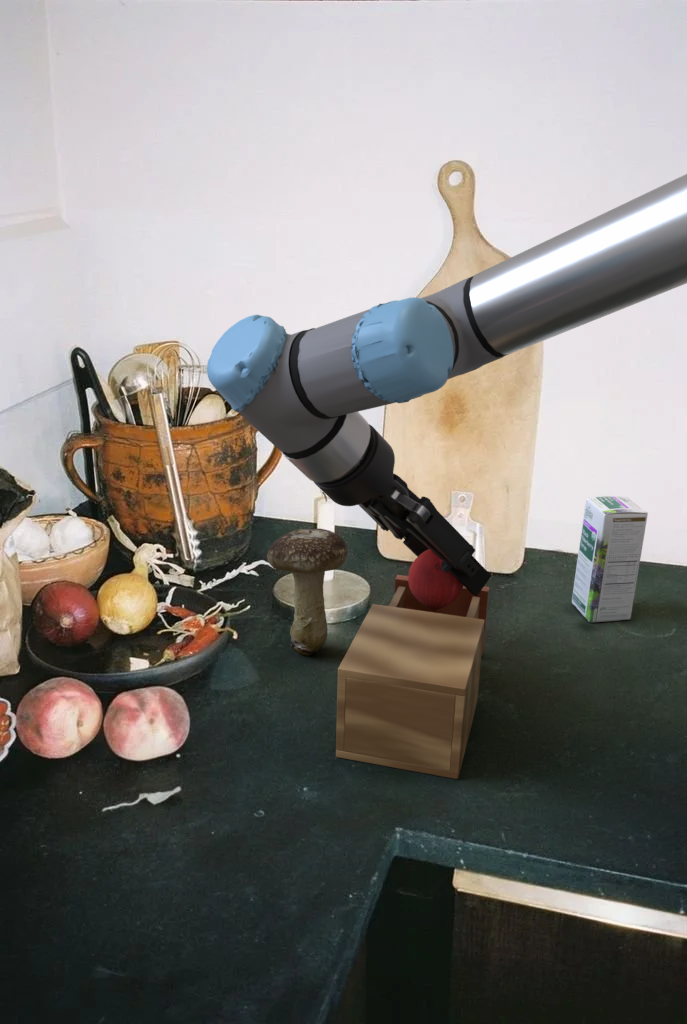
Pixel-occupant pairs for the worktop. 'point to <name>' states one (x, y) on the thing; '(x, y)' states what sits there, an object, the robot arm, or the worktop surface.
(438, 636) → the cabinet
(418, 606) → the drawer
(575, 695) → the worktop surface
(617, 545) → the syrup box
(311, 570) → the mushroom
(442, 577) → the onion
